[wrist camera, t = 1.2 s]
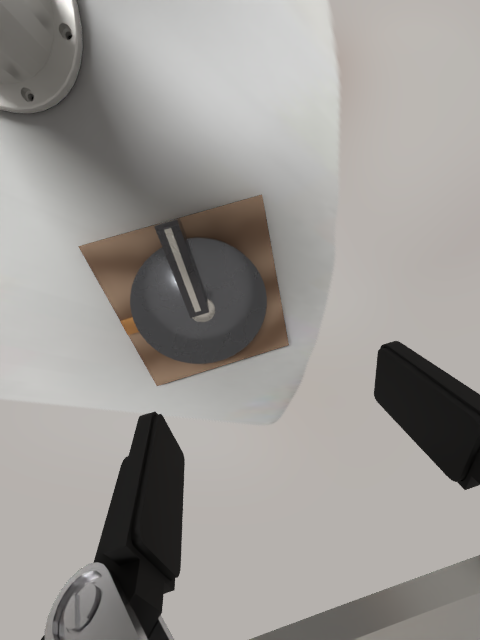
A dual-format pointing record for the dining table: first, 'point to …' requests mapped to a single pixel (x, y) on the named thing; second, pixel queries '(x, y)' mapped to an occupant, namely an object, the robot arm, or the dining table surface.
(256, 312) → the dial
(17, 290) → the dining table surface
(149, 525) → the robot arm
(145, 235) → the dial base plate
